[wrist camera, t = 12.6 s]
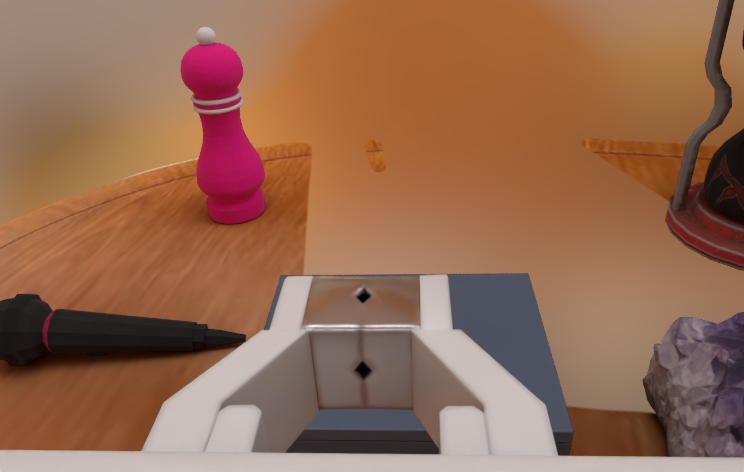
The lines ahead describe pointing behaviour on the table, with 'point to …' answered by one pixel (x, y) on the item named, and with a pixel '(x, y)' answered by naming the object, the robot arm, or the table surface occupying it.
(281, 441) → the robot arm
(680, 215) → the hourglass
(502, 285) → the lid
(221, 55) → the pepper mill
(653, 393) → the geode
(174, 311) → the table surface
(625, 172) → the table surface
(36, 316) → the microphone
